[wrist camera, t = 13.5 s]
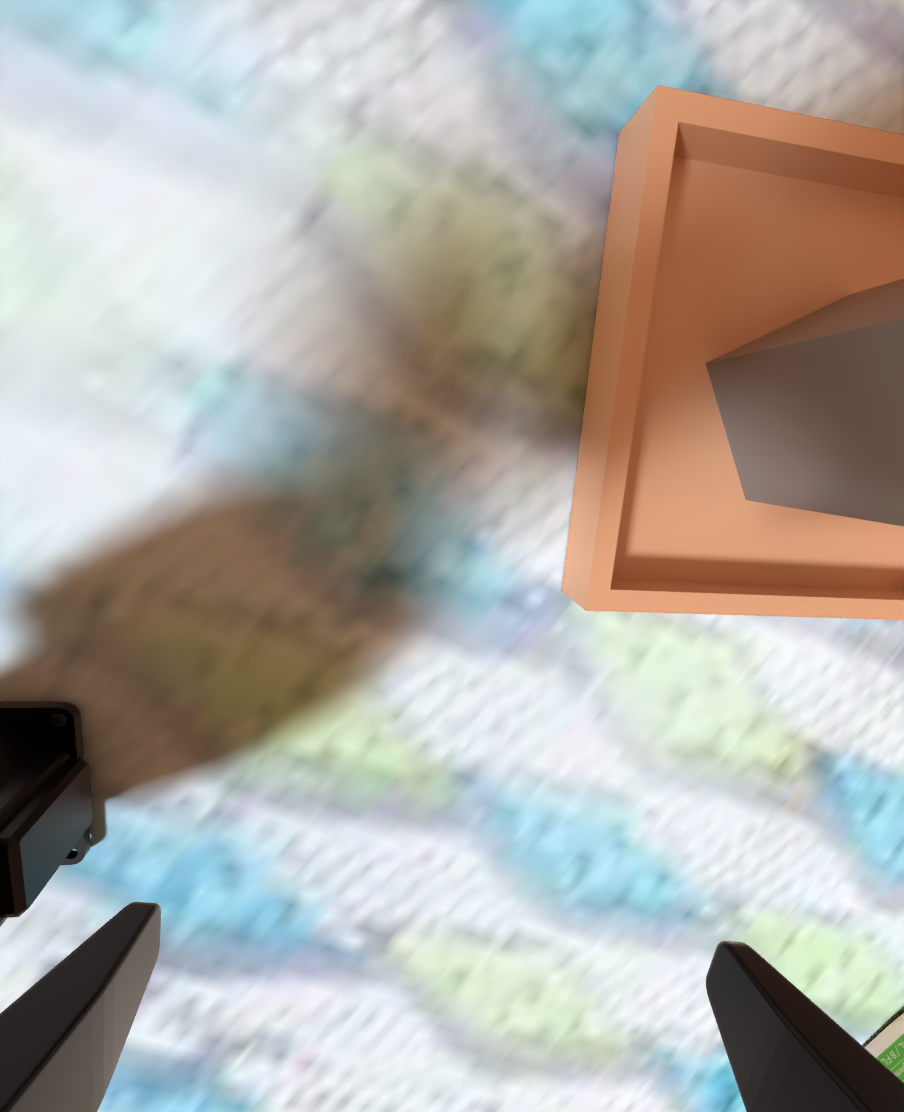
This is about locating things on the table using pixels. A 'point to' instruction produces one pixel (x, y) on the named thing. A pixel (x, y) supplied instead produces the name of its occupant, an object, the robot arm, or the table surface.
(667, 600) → the tray
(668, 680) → the table surface
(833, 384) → the beige rectangular block
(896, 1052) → the skincare box
